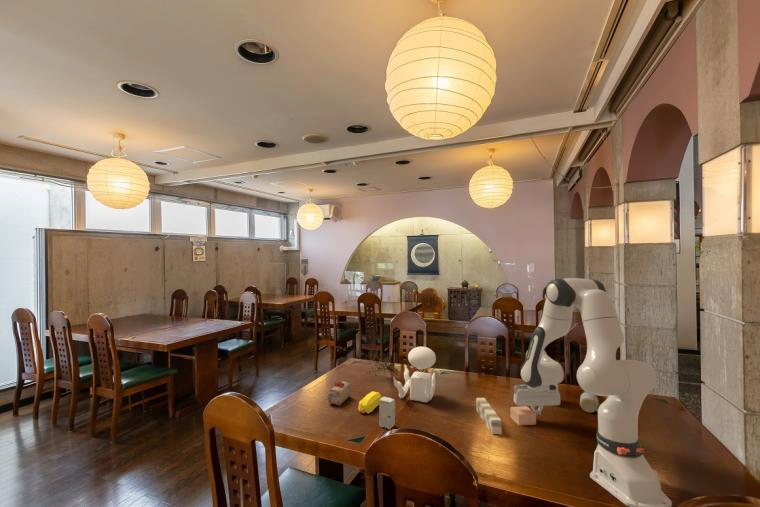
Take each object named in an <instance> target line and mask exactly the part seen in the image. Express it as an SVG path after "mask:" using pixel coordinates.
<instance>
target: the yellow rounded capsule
mask: <svg viewBox="0 0 760 507" xmlns="http://www.w3.org/2000/svg"><path fill="white" fill-rule="evenodd" d="M382 397H383V396H382V394H381V393H380V392H379V391H378V392H376V391H374V390H373V391H370V392H369V393H367V394H366V395H365V396H364V397H363V398H362V399H361V400H360V401H358V411H359V413H361V414H365V413H367V414H369V413H370V414H371V412H373V411H374V410H375V408H377V407H378V406H379V400H380V399H381V398H382Z"/></svg>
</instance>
